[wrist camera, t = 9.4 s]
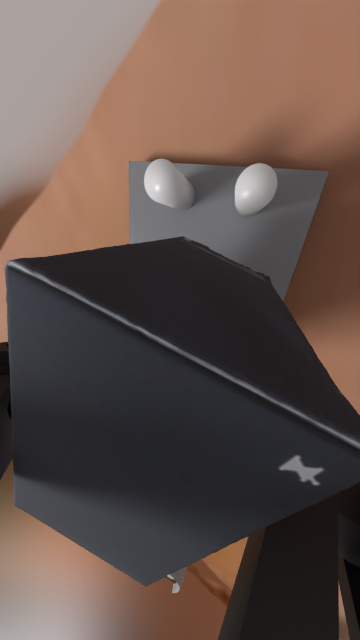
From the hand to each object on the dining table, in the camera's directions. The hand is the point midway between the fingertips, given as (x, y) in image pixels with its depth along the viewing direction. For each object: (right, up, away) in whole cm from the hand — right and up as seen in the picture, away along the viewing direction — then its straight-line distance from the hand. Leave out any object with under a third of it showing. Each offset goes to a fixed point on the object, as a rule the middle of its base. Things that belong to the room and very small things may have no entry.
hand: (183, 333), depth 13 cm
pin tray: (+2, +3, +7) cm, 8 cm away
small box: (0, +1, +1) cm, 2 cm away
